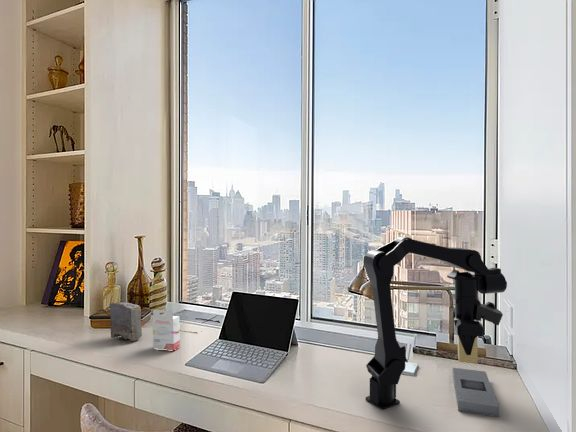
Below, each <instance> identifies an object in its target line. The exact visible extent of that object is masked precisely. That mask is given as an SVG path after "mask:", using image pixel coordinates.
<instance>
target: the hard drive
mask: <svg viewBox="0 0 576 432" xmlns="http://www.w3.org/2000/svg"><path fill="white" fill-rule="evenodd" d="M418 368H419V364H418V363H414V362H409V361H408V362H405V370H403V372H402V373H401V375H406V376H411V377H415V375H416V373H417V370H418Z"/></svg>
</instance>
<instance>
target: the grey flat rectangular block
mask: <svg viewBox="0 0 576 432" xmlns="http://www.w3.org/2000/svg"><path fill="white" fill-rule="evenodd" d="M452 380H453V387H454V393H455V398H456V406H457V410H458V412H462V413H463V412H464V413H471V414H477V415H483V416H489V417H496V418H499V417H500V413H499V412H500V409H499V407H500V406H499V404H498V401H497V399H496V396H495V393H494V390H493V388H492V384H491V382H490V380H489V376H488V374H487V371H483V370H478V369H476V370H475V369H467V368H458V367H452Z"/></svg>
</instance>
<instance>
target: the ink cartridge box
mask: <svg viewBox="0 0 576 432" xmlns="http://www.w3.org/2000/svg"><path fill="white" fill-rule="evenodd" d="M180 324H181V323H180V315H174V311H173V310H167V309H153V311H152V349H153V348H158V349H167V350H175V349H177V348H178V347H180V348H181V331H180ZM178 349H179V348H178ZM178 349H177V350H178ZM175 351H176V350H175Z"/></svg>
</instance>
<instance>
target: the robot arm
mask: <svg viewBox="0 0 576 432" xmlns="http://www.w3.org/2000/svg"><path fill="white" fill-rule="evenodd" d="M409 253H410V254H414V255H418V256H421V257H426V258H431V259H435V260H439V261H441V262H443V263H445V264H447V265H449V266H451V267H453V268H456V269H457V270H456V269H452V271H451V272H449V273H448V274H447V276H446V278H448V279H451V280H454V306H455V307H453V308H452V311H451V313H452V319H454V320H453V323H454V326H455V331H456V334H458V335H457V337H458V336H459V339H460V341H461V343H462V346H463V348H464V351H465V353H466V355H471V352H472V348H473V344H474V340H475V338H476V337H477V338H478V337H485V328H484V325H483V324H482V323H481V322H480V321H482V320H484V321H487V322H489V323H491V324H493V325H495V326H499V325H500V323H501V320H502V318H503V315H504V313H502V311H501V310H499V309H498V308H496V304H495V303H494V302H491V301H487V302H486V303H481V301H480V299H479V294H482V295H484V294H487V295H488V294H499V293H504V292H505V291H507V287H508V282H507V280H506V278H505V275H504V274H503V273H502V269H501V268H498V267H492V268H491V267H490V268H488V267H487V264H486V263H485V262H484V261H483V259H482V255H481V254H480V252H479V251H477V250H475V249H469V248H463V247H452V246H451V247H446V246H441V245H437V244H433V243H429V242H424V241H420V240H416V239H413V238H411V237H406V236H399V237H395V239H393V240H392V241H391V242H388V243H386V244H383V245H382V246H380V247H378V248H377V249H372V250H369V251H368V252H366V254H365V255H363V260H362V261H363V265H364V269H365V272H366V275H367V277H368V278H367V279H369V282H370V283H371V287H372V296H373V297H372V298H373V303H374V304H373V305H374V314H375V322H376V330H377V331H376V332H377V340H376V343H375V346H374V356H373V357H372V358H371V359H370V360H369V361H368V363H367V364H366V366H365V367H366V369H367V372H368V373H369V374H370V375H371V377H369V395H368V396H366V397H365V400H366V401H368V402H369V403H371V404H372V405H374V406H375V407H378V408H379V409H381V410H385V409H389V408H391V407H394V406H396V405H399V404H400V402H401V401H400V400H399V399H397V385H398V384H399V382H400V378H401V376H402V374H401V373H402V372H403V370H405V362H409V361H408V359H407V355H406V352H407V350H406V346H405V345H404V344H402V343H401V342H400V341H399V340H398V339H397V336H396V335H397V334H396V326H395V324H396V323H395V317H394V308H393V299H392V291H391V285H392V284H391V282H393V281H392V280H393V277H394V271H395V270H394V267H395V266H396V265H398V264H399V263H400V262H402V260H403V259H405V257H406V256H407V255H408V254H409ZM458 269H459V270H458ZM460 270H463V271H460ZM472 273H474V274H472Z"/></svg>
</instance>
